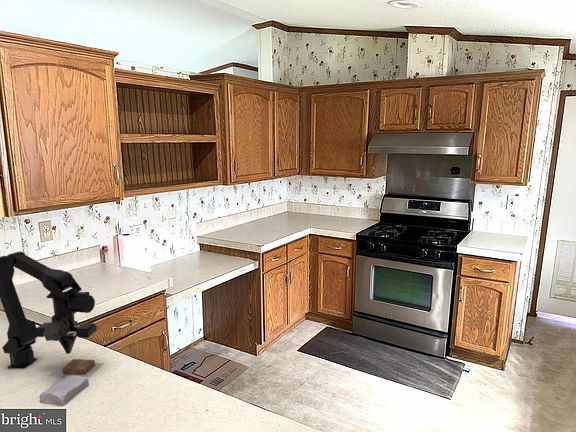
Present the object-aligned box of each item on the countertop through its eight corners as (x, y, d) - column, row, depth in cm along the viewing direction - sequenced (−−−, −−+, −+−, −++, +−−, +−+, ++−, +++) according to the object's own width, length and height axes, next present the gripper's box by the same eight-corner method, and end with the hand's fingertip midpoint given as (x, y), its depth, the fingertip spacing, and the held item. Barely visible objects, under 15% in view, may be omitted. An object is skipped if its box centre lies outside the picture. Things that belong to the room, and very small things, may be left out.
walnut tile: (62, 368, 136) (84, 369, 136) (72, 359, 142) (94, 359, 142) (62, 374, 137) (85, 374, 136) (73, 364, 143) (95, 365, 142)
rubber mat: (47, 377, 136) (47, 376, 136) (63, 362, 144) (63, 362, 144) (90, 378, 134) (89, 377, 134) (104, 363, 143) (104, 363, 143)
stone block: (37, 410, 121) (65, 407, 119) (33, 395, 121) (61, 392, 119) (66, 388, 133) (92, 386, 131) (62, 375, 133) (88, 372, 130)
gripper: (20, 319, 129) (26, 365, 131) (76, 320, 127) (81, 366, 130) (43, 306, 140) (48, 348, 142) (95, 306, 138) (99, 349, 141)
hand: (68, 353), depth 139 cm, fingers closed
